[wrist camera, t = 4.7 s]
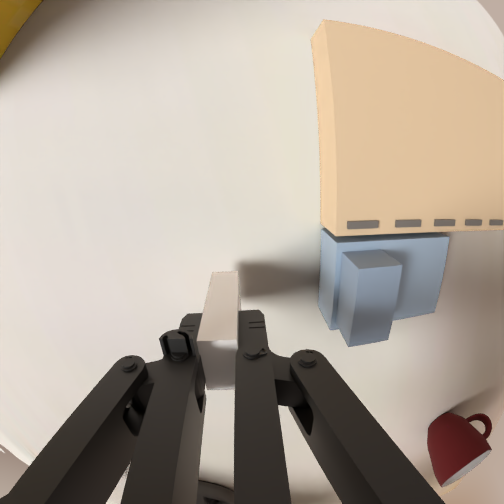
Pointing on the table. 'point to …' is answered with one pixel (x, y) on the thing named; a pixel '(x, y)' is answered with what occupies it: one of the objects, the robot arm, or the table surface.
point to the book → (13, 19)
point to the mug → (456, 446)
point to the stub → (378, 281)
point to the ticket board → (405, 135)
